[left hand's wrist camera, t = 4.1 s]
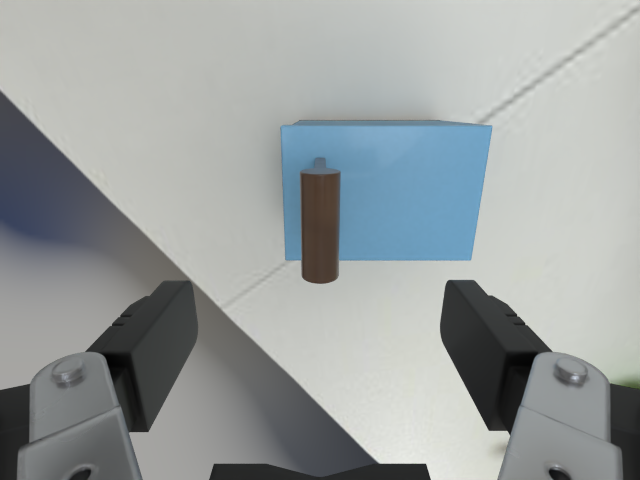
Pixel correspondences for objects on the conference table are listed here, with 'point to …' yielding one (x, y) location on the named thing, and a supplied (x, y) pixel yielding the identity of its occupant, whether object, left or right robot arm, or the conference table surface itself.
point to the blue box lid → (380, 193)
